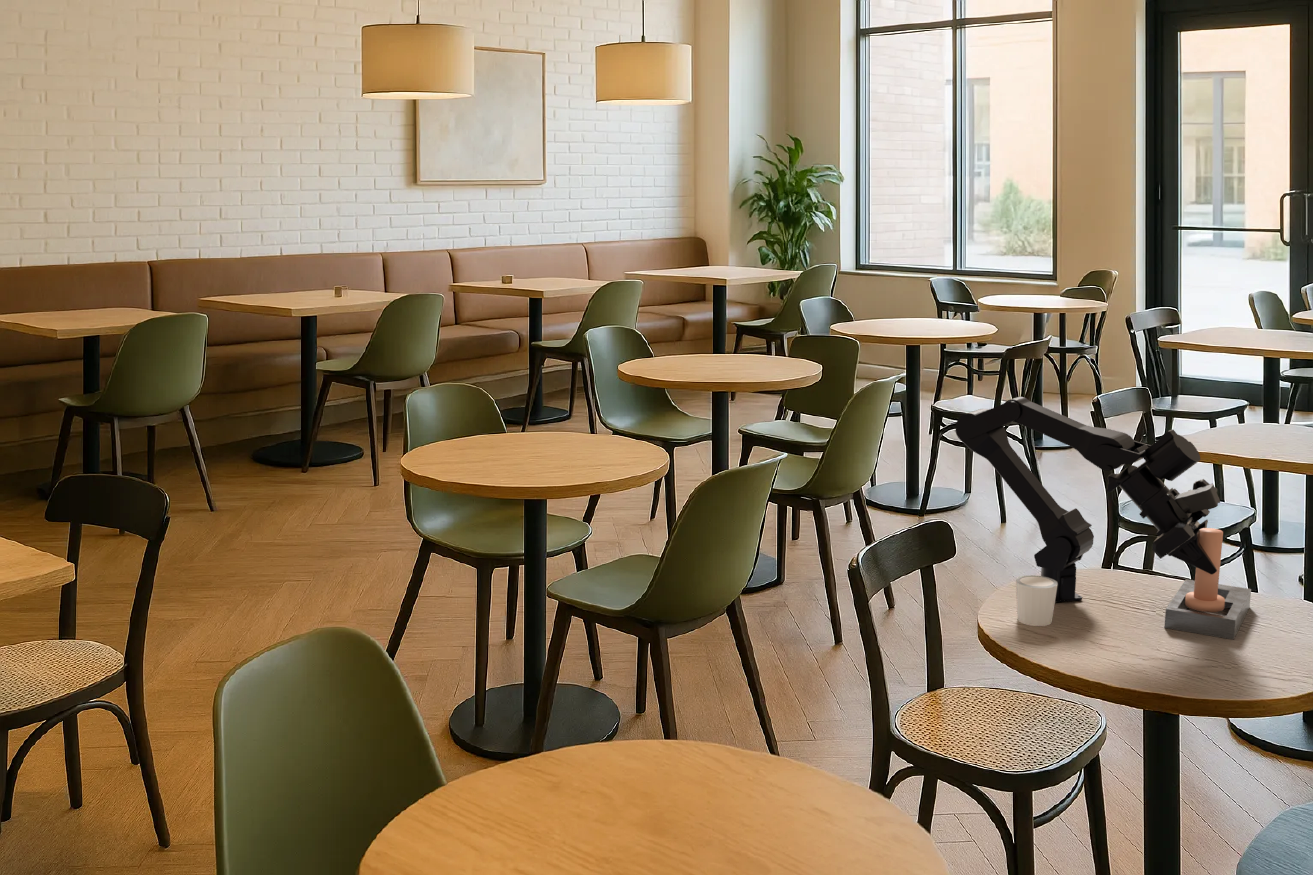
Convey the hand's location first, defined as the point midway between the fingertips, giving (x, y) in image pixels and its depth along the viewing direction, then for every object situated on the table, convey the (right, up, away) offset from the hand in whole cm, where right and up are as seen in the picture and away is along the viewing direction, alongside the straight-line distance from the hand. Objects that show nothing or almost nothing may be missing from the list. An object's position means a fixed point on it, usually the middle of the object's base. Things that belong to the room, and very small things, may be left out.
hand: (1216, 569), depth 203 cm
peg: (-1, -6, +2) cm, 7 cm away
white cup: (-28, -9, +6) cm, 30 cm away
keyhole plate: (+1, -9, +6) cm, 11 cm away
